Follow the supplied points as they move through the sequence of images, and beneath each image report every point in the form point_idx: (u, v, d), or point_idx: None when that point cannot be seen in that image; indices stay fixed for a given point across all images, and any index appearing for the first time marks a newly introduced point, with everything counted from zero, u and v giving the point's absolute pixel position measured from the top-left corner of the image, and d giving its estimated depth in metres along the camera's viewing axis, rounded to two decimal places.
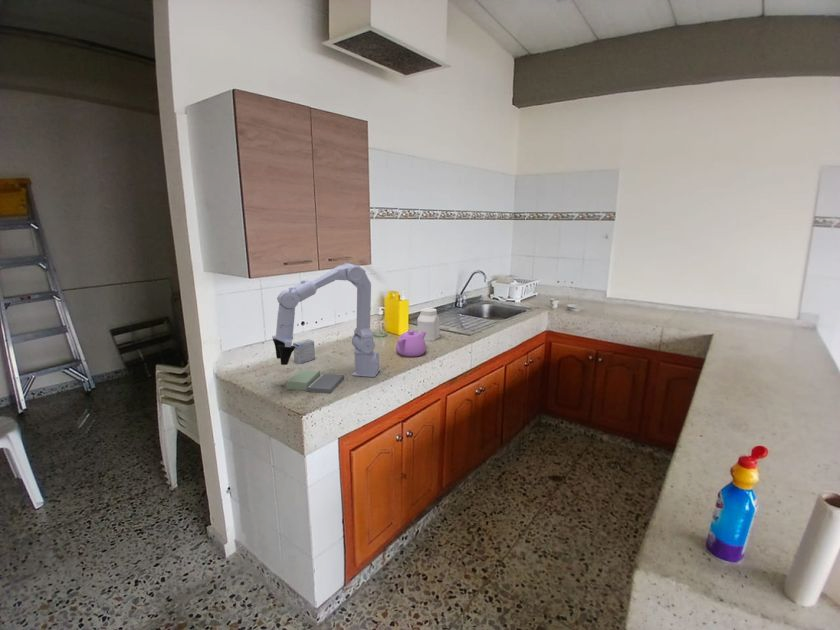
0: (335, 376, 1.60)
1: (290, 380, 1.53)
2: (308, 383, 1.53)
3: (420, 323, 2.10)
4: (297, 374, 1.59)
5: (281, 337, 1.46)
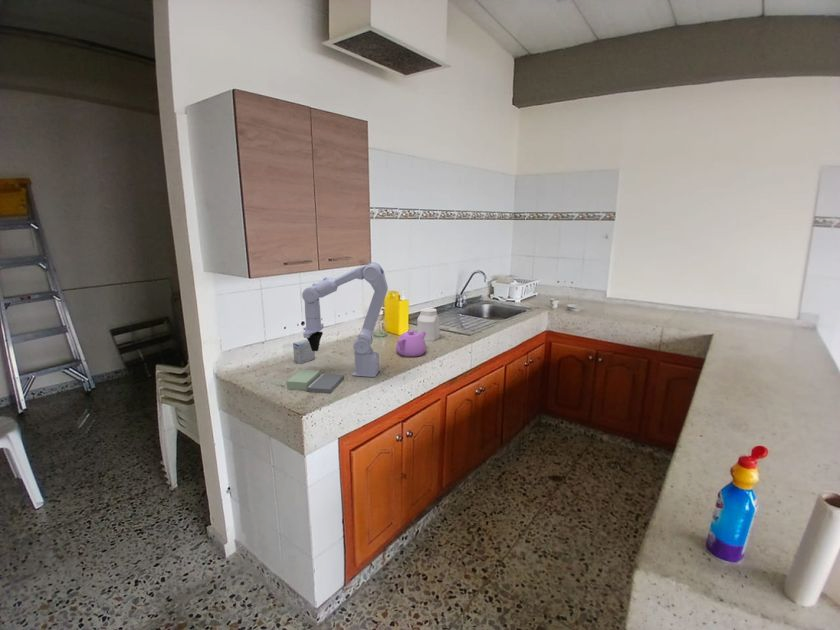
0: (335, 376, 1.60)
1: (290, 380, 1.53)
2: (308, 383, 1.53)
3: (420, 323, 2.10)
4: (297, 374, 1.59)
5: (307, 329, 1.62)
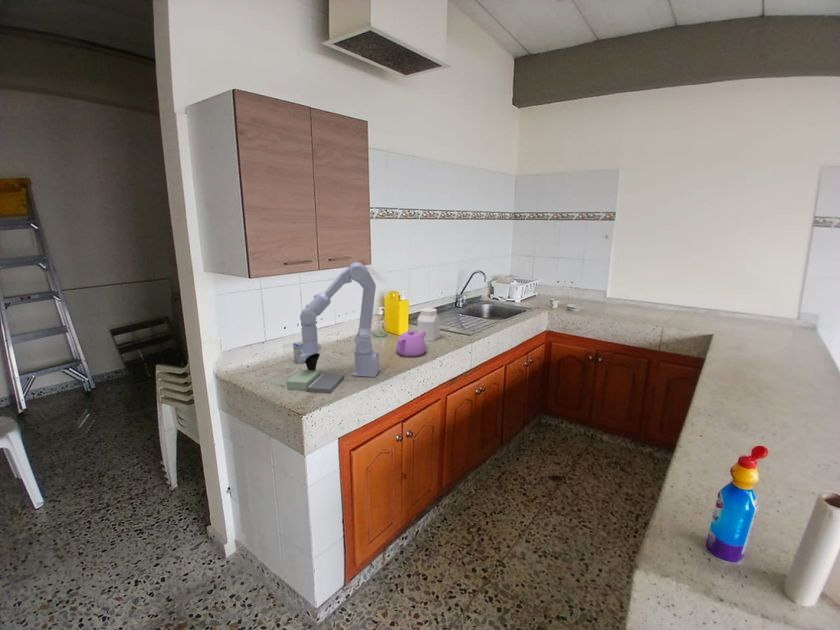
0: (335, 376, 1.60)
1: (290, 380, 1.53)
2: (308, 383, 1.52)
3: (420, 323, 2.10)
4: (297, 374, 1.59)
5: (304, 351, 1.60)
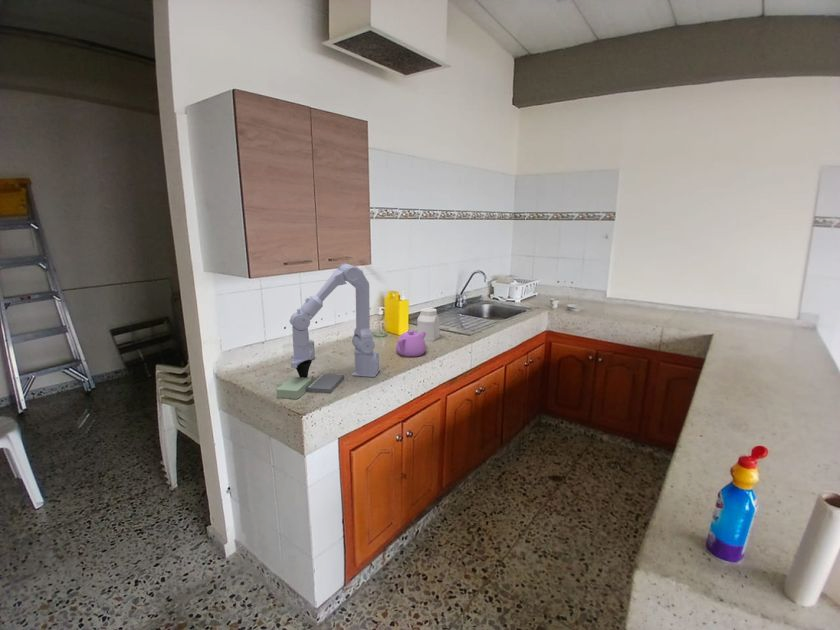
0: (335, 376, 1.60)
1: (280, 388, 1.46)
2: (299, 391, 1.45)
3: (420, 323, 2.10)
4: (288, 382, 1.52)
5: (295, 357, 1.53)
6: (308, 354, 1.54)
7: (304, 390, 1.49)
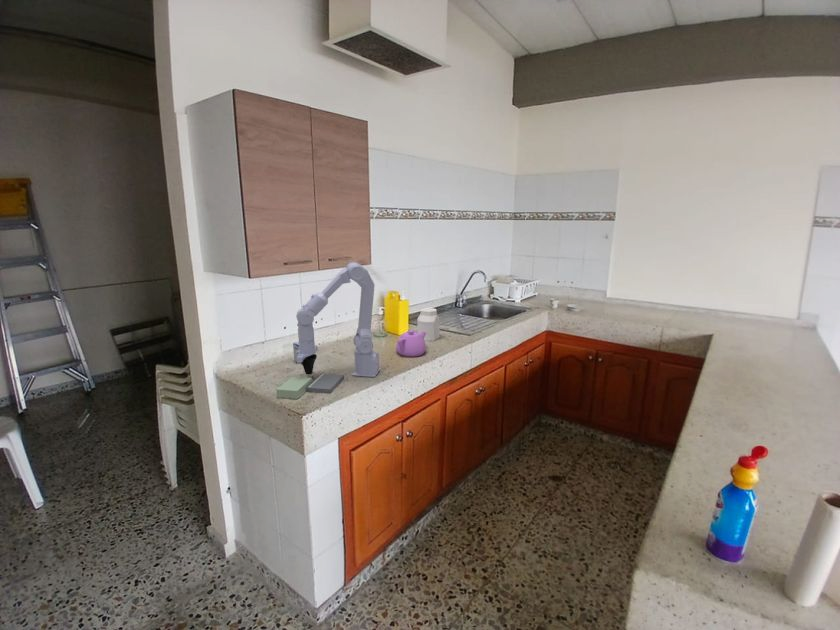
0: (335, 376, 1.60)
1: (280, 388, 1.46)
2: (299, 391, 1.45)
3: (420, 323, 2.10)
4: (288, 382, 1.52)
5: (300, 352, 1.57)
6: (313, 349, 1.58)
7: (304, 390, 1.49)
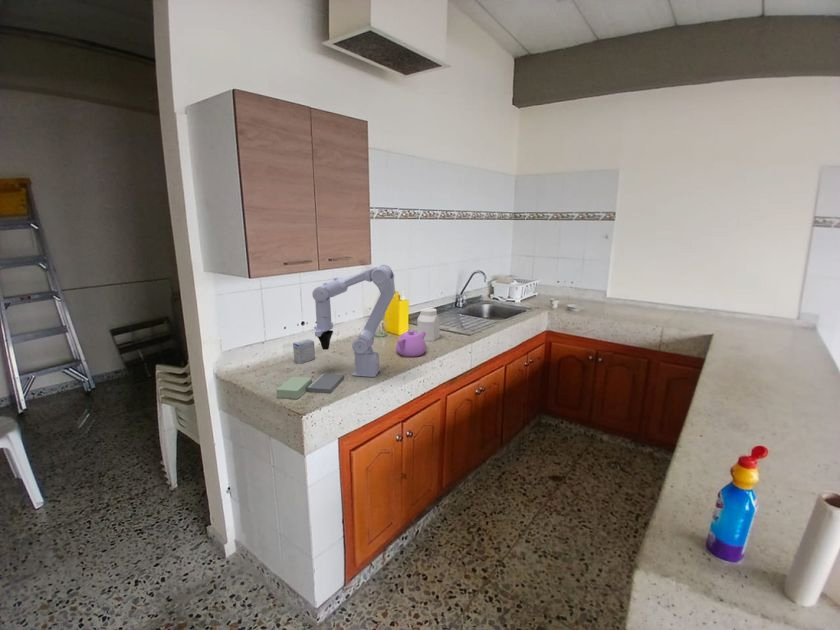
0: (335, 376, 1.60)
1: (280, 388, 1.46)
2: (299, 391, 1.45)
3: (420, 323, 2.10)
4: (288, 382, 1.52)
5: (318, 327, 1.64)
6: (330, 325, 1.65)
7: (304, 390, 1.49)
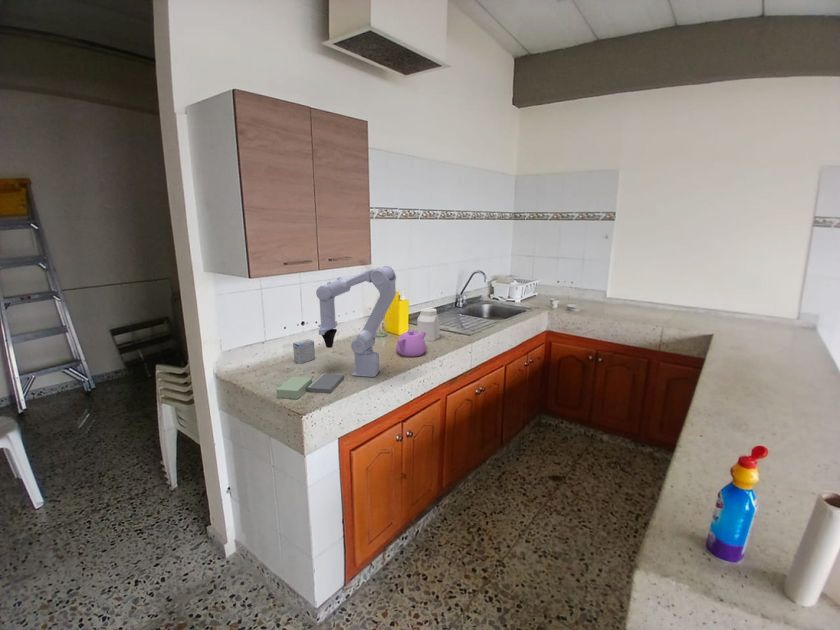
0: (335, 376, 1.60)
1: (280, 388, 1.46)
2: (299, 391, 1.45)
3: (420, 323, 2.10)
4: (288, 382, 1.52)
5: (322, 326, 1.66)
6: (334, 323, 1.67)
7: (304, 390, 1.49)
